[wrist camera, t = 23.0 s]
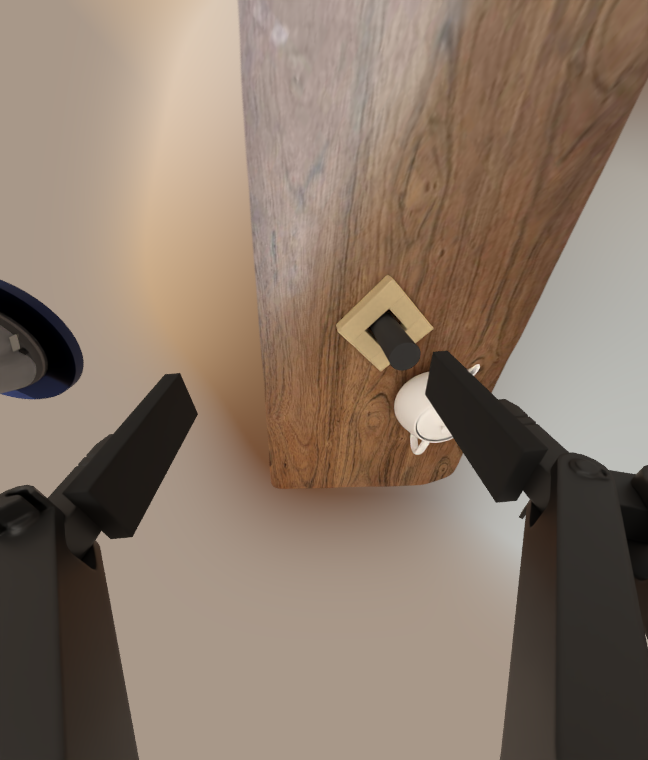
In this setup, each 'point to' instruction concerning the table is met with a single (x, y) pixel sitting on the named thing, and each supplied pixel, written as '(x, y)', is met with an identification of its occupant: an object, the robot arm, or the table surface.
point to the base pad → (371, 309)
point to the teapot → (421, 413)
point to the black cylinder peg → (395, 342)
